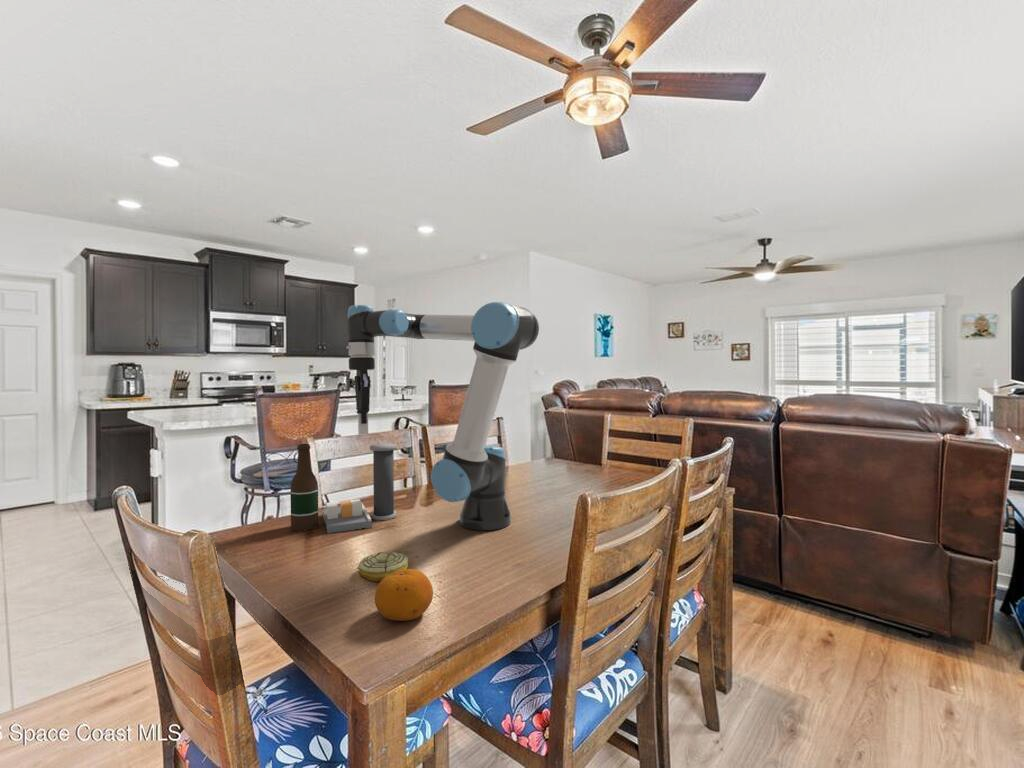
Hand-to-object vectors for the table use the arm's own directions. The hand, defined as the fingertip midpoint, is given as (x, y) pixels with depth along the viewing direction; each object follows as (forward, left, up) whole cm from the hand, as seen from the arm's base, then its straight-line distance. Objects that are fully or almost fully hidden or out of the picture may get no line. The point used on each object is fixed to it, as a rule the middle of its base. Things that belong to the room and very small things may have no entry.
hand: (363, 434), depth 147 cm
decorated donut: (-43, +2, -26) cm, 50 cm away
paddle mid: (-2, +5, -24) cm, 24 cm away
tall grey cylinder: (-2, -6, -26) cm, 26 cm away
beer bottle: (-3, +17, -26) cm, 31 cm away
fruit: (-63, +2, -26) cm, 68 cm away
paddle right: (-2, +2, -24) cm, 24 cm away
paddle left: (-2, +9, -24) cm, 25 cm away
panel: (-2, +5, -26) cm, 26 cm away
